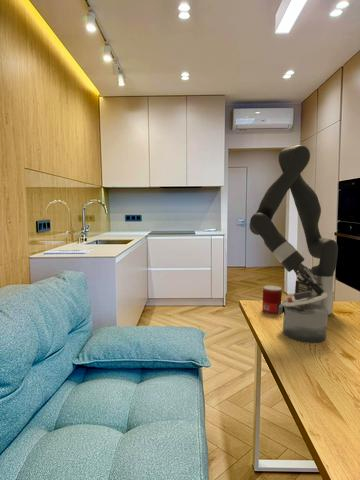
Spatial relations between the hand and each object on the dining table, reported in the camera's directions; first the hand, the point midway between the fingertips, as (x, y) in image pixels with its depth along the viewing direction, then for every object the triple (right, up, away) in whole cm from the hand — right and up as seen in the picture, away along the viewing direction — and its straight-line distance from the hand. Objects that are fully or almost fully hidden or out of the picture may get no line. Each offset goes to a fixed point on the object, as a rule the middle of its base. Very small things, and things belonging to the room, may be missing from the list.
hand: (321, 293), depth 116 cm
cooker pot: (-5, -16, +5) cm, 17 cm away
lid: (-5, -3, +3) cm, 7 cm away
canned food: (-10, -13, +30) cm, 34 cm away
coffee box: (+3, -14, +21) cm, 25 cm away
